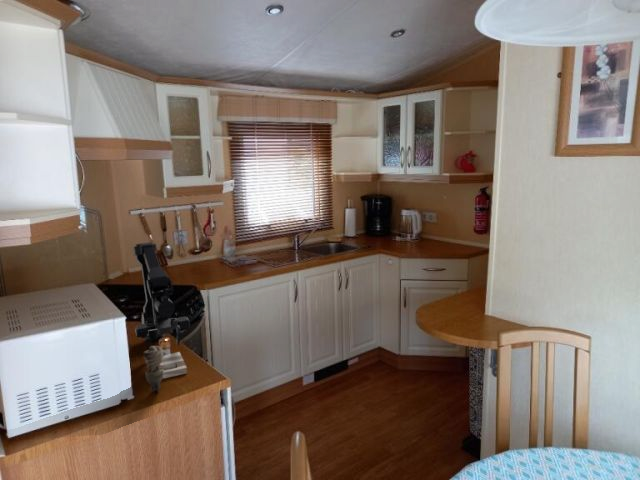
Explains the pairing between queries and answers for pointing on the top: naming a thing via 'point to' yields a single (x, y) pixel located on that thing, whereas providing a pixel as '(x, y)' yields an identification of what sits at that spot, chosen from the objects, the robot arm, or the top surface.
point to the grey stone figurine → (154, 367)
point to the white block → (173, 365)
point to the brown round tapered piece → (165, 345)
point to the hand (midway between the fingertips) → (165, 348)
